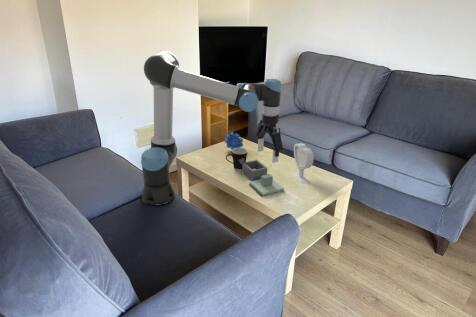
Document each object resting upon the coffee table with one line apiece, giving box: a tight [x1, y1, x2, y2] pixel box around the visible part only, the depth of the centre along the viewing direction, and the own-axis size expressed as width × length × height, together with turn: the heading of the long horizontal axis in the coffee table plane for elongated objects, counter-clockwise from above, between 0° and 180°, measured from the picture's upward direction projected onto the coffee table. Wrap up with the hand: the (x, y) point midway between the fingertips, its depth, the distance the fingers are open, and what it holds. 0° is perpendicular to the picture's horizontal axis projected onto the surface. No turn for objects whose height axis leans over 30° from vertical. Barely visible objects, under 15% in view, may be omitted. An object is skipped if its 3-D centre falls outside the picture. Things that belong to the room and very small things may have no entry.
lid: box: [249, 173, 285, 196], centre depth 170 cm, size 12×13×6 cm
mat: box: [248, 183, 284, 197], centre depth 172 cm, size 13×12×1 cm
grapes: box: [223, 132, 244, 151], centre depth 209 cm, size 12×7×12 cm, turn 92°
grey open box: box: [241, 159, 268, 182], centre depth 182 cm, size 9×11×6 cm
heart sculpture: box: [291, 143, 315, 185], centre depth 178 cm, size 16×5×18 cm, turn 16°
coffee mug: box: [225, 147, 248, 171], centre depth 190 cm, size 12×9×10 cm
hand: (267, 156), depth 165 cm, fingers open, 13 cm apart
